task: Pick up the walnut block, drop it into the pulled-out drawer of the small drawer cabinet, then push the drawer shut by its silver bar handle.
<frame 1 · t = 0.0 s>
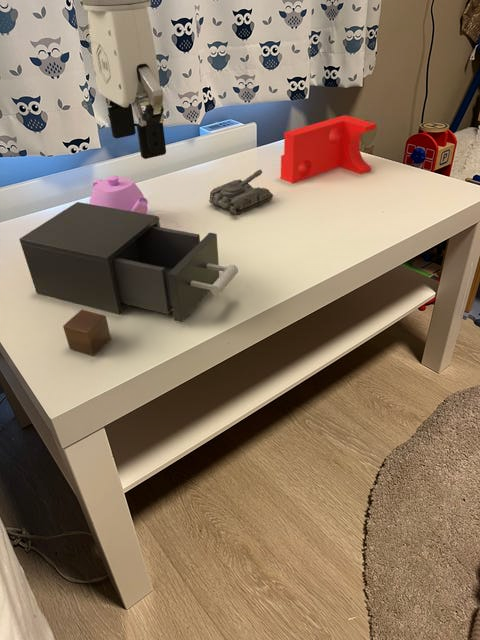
hand: (138, 145, 69), 22 cm above the table, tool pointing down, fingers open, 9 cm apart
block: (90, 343, 72), on the table
teapot: (124, 226, 100), on the table
pulled-out drawer: (170, 270, 77), point 5 cm above the table, slide at 9.0 cm
small drawer cabinet: (103, 280, 85), on the table
tank toy: (241, 203, 107), on the table
bracket: (325, 175, 117), on the table
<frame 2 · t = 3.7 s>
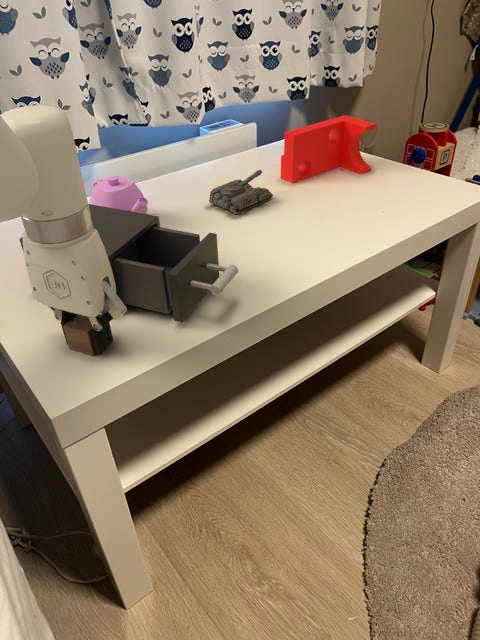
hand: (90, 342, 71), 0 cm above the table, tool pointing down, fingers closed on block, 4 cm apart
block: (90, 343, 72), on the table, touching gripper
everything else where it was.
when the fingers open (8 cm above the table, at t = 8.3 s): block drops 6 cm, resting on pulled-out drawer.
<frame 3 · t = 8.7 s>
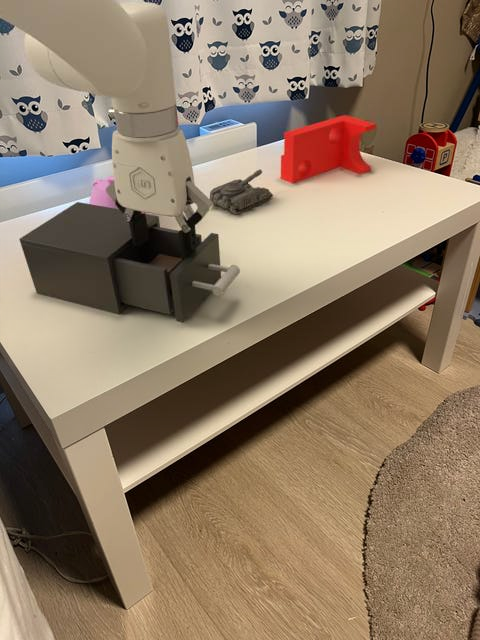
hand: (164, 247, 75), 9 cm above the table, tool pointing down, fingers open, 7 cm apart
block: (167, 285, 79), point 2 cm above the table, touching pulled-out drawer
pulled-out drawer: (172, 271, 77), point 5 cm above the table, slide at 9.3 cm, touching block, gripper
everything else where it was.
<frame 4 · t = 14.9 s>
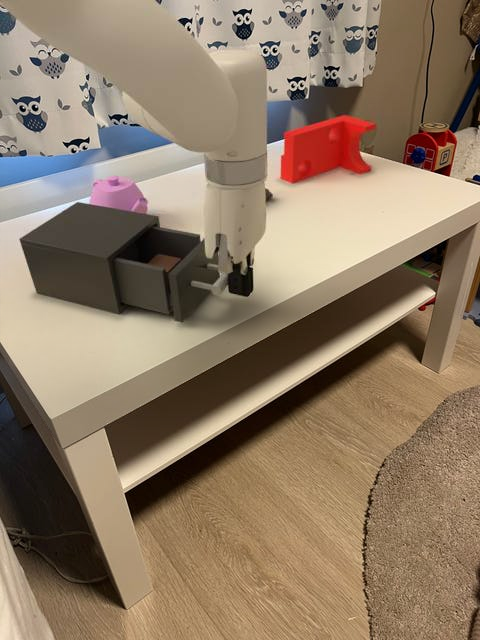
hand: (241, 292, 74), 4 cm above the table, tool pointing down, fingers closed
pulled-out drawer: (170, 270, 77), point 5 cm above the table, slide at 9.1 cm, touching block
everything else where it was.
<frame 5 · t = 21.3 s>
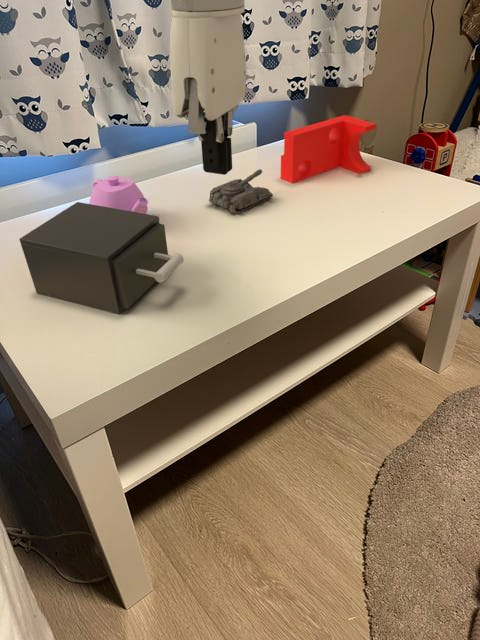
hand: (217, 170, 64), 21 cm above the table, tool pointing down, fingers closed
block: (116, 273, 82), point 2 cm above the table, touching pulled-out drawer
pulled-out drawer: (119, 259, 80), point 5 cm above the table, slide at 0.0 cm, touching small drawer cabinet, block
everything else where it was.
at the end: block inside the target area in the small drawer cabinet (3.0 cm from its centre), point 2.0 cm above the small drawer cabinet's base; pulled-out drawer slide at 0.0 cm; tank toy moved 0.4 cm from its start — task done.
